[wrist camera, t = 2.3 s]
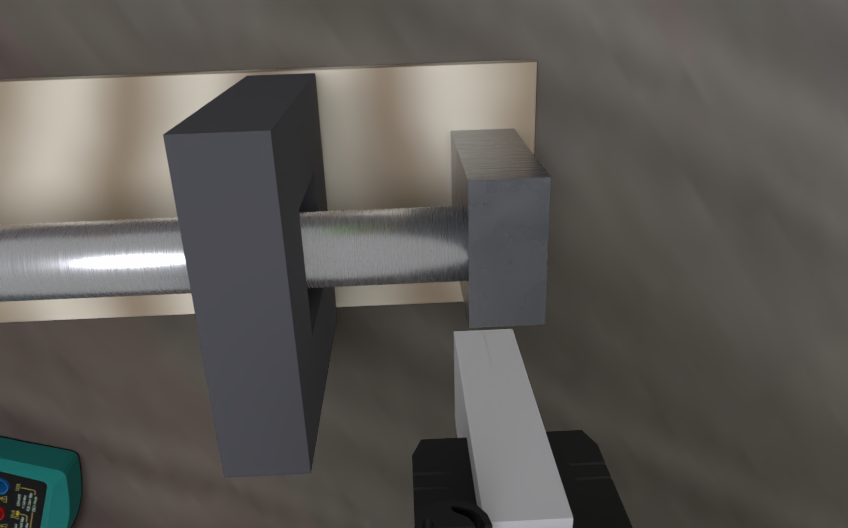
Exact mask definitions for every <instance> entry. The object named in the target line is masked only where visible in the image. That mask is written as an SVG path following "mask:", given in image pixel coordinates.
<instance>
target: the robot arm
mask: <svg viewBox="0 0 848 528" xmlns="http://www.w3.org/2000/svg"><path fill="white" fill-rule="evenodd" d="M454 386H455V424H456V431H457V438H444V439H424V440H421V441H420V443H419V444H418V446H417V448H416V450H415V452H414V453H413V455H412V462H413V489H414V517H415V528H632V525H631V523H630V521H629V518H628V516H627V514H626V511H625V509H624V506H623V504H622V502H621V499H620V497H619V495H618V492H617V490H616V487H615V485H614V483H613V480H612V479H611V476H610V473H609V471H608V469H607V466H606V465H605V461H604V459H603V457H602V454H601V452H600V450H599V447H598V445H597V444H596V443H595V442H594V441H593V440H592V439H591V438H590V437H589V436H588V435H586V434H585V433H584V432H583V431H582V430H574V431H554V432H545V429H544V425H543V422H542V419H541V416H540V413H539V410H538V407H537V404H536V401H535V398H534V394H533V391H532V388H531V385H530V382H529V379H528V376H527V373H526V370H525V366H524V363H523V360H522V357H521V354H520V351H519V348H518V345H517V342H516V339H515V335H514V332H513V329H498V330H476V331H455V332H454Z"/></svg>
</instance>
